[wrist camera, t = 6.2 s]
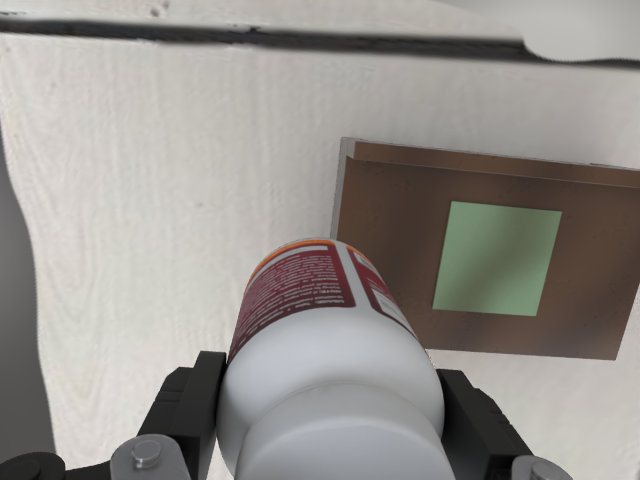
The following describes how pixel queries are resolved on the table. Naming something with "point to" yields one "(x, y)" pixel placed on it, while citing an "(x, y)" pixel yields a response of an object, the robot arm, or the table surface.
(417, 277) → the shelf
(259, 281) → the pill bottle
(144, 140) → the table surface
